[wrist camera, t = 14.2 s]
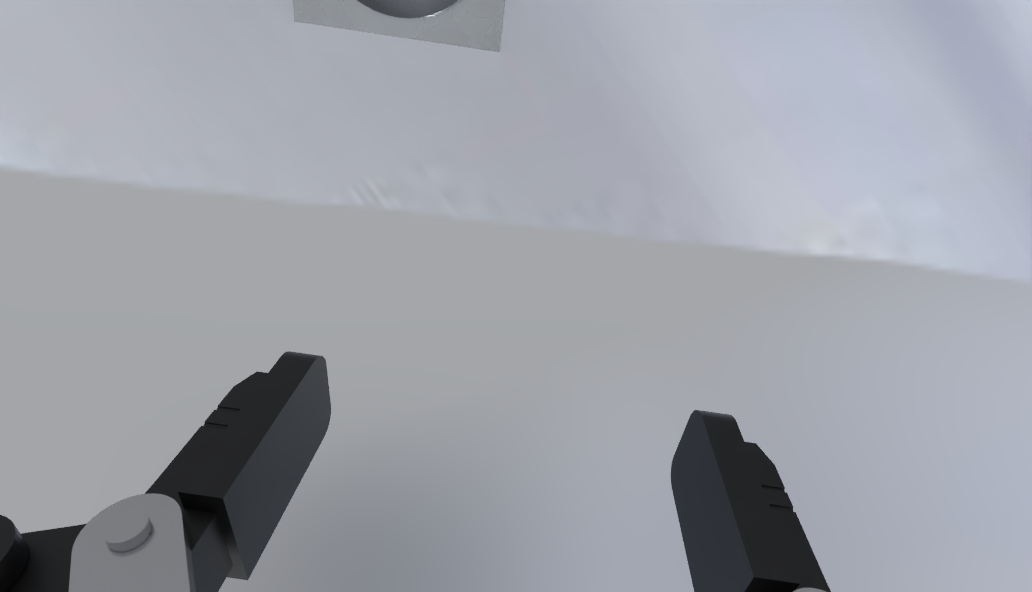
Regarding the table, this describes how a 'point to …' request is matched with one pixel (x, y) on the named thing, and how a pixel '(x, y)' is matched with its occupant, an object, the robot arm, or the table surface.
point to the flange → (412, 19)
